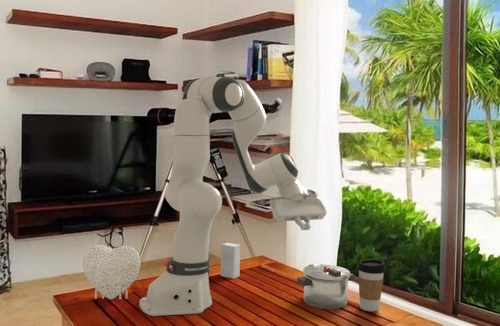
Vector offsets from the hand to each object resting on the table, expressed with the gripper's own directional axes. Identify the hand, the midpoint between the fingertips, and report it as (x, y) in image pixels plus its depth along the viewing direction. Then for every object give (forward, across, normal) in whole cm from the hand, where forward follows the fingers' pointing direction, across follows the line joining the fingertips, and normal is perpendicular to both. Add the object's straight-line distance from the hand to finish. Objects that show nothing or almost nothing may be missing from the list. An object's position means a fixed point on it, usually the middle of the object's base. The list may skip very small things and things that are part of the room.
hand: (306, 229), depth 177 cm
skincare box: (0, -19, +30) cm, 36 cm away
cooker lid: (+18, 0, -1) cm, 18 cm away
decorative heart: (+7, -64, +23) cm, 68 cm away
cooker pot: (+24, 0, +5) cm, 25 cm away
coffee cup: (+32, +10, -2) cm, 33 cm away
